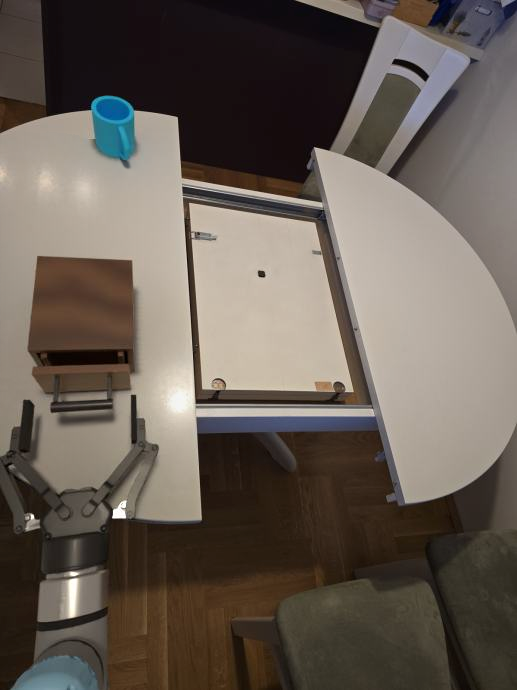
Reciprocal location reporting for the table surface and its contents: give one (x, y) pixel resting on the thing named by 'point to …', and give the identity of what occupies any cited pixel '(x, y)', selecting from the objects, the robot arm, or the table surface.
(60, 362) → the drawer
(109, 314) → the cabinet
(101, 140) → the mug
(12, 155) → the table surface
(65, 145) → the table surface
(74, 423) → the table surface
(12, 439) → the robot arm
